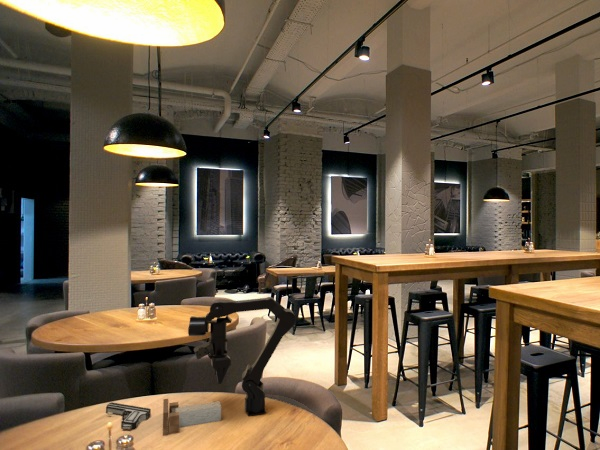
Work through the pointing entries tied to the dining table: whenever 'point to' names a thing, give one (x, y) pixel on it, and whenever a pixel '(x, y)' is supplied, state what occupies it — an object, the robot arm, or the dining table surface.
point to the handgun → (129, 414)
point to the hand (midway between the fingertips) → (218, 379)
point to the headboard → (170, 418)
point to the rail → (198, 414)
